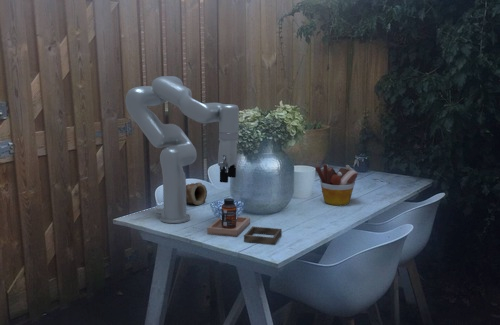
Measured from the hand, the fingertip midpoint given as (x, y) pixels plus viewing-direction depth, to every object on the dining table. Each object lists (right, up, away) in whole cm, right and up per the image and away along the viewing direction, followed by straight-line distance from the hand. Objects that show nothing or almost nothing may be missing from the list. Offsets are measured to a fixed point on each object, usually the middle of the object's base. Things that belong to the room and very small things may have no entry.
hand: (227, 179), depth 206 cm
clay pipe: (-19, -12, +46) cm, 51 cm away
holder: (+14, -22, -9) cm, 27 cm away
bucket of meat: (+50, -13, +44) cm, 67 cm away
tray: (0, -20, +3) cm, 20 cm away
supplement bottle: (0, -19, +3) cm, 19 cm away
